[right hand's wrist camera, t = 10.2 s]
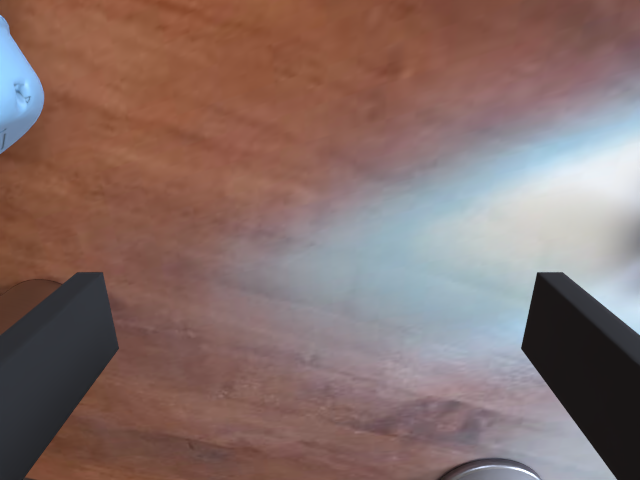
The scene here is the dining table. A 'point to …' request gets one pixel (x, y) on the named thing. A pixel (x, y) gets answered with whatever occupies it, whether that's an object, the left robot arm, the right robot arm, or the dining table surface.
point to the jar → (23, 300)
